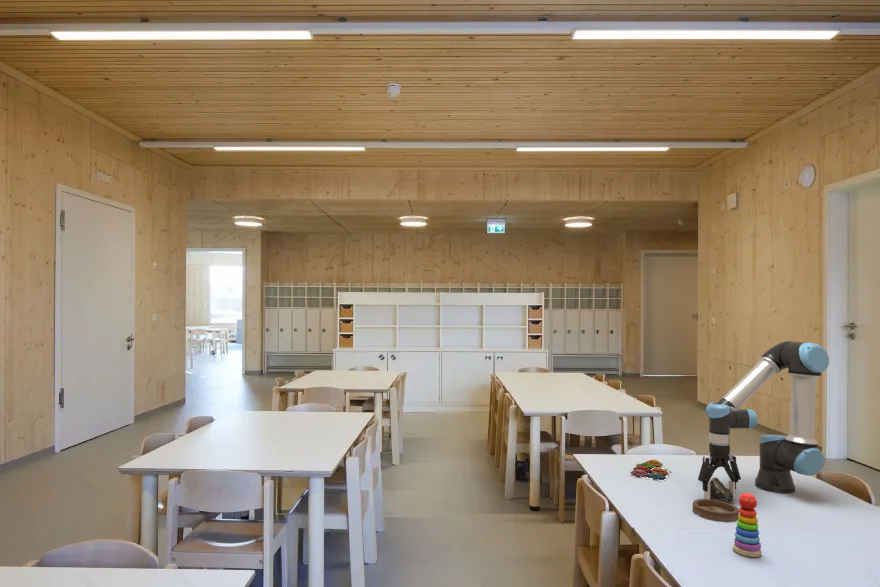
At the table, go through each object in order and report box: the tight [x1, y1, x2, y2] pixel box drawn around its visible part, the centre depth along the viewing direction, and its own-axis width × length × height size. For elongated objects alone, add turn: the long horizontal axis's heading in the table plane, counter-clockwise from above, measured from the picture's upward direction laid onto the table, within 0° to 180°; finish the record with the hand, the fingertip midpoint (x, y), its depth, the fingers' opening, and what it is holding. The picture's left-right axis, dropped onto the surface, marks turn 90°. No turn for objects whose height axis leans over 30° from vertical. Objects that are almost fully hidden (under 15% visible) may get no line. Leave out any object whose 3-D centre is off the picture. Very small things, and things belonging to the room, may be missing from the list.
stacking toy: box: [732, 492, 762, 558], centre depth 178 cm, size 8×8×19 cm
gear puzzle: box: [630, 459, 671, 481], centre depth 267 cm, size 31×16×4 cm, turn 151°
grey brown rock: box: [709, 477, 734, 503], centre depth 226 cm, size 11×9×10 cm
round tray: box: [692, 498, 740, 523], centre depth 211 cm, size 15×15×3 cm
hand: (719, 498), depth 226 cm, fingers closed on grey brown rock, 11 cm apart
